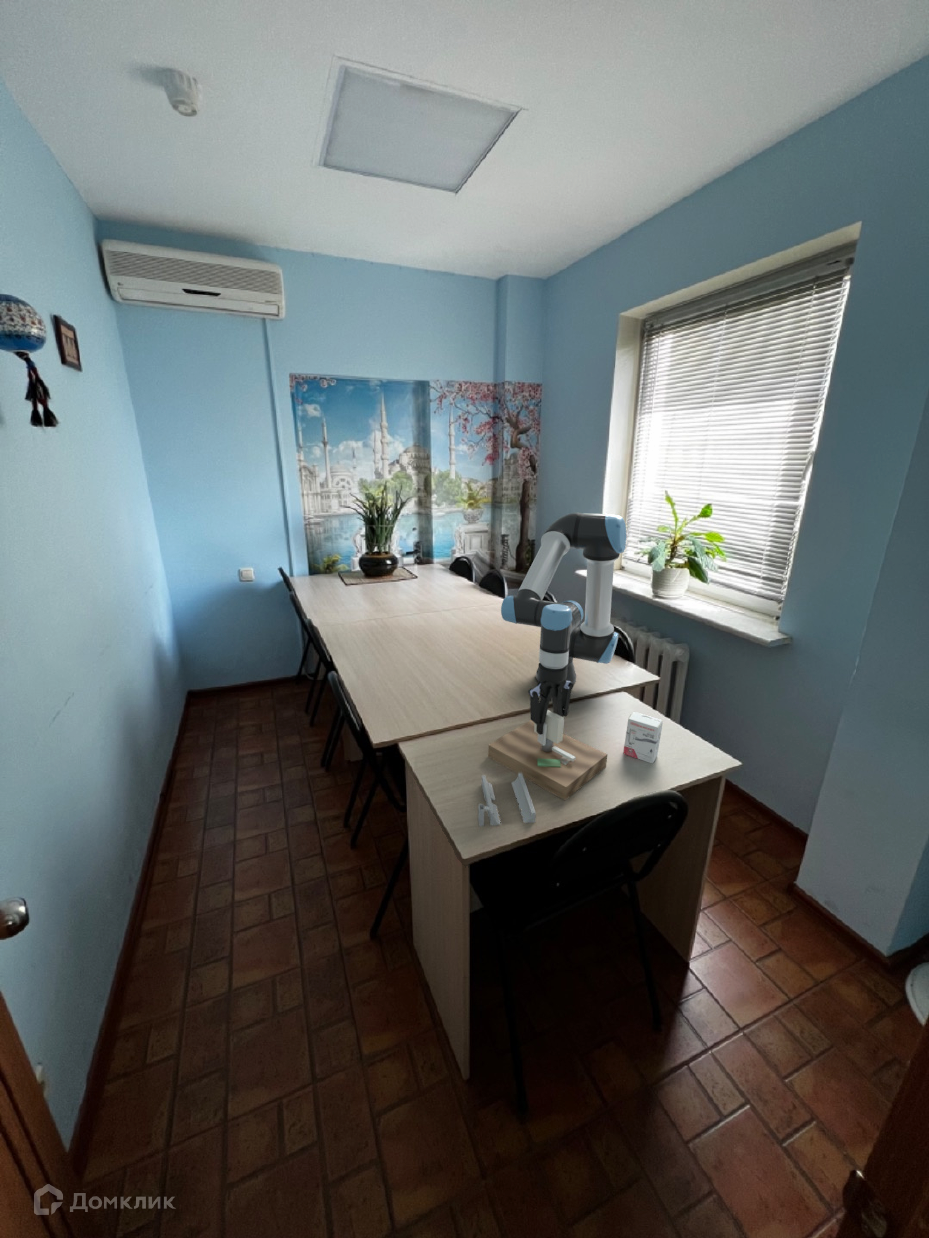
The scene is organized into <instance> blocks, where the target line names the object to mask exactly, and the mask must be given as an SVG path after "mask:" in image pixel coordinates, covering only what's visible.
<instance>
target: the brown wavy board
mask: <svg viewBox="0 0 929 1238" xmlns="http://www.w3.org/2000/svg"><path fill="white" fill-rule="evenodd" d="M534 725H535V723H534V722H533V721H532V720H531V719H530V720H528V721H526V722H525V723H523V724H521V725H520V726H518V727H516V728H514V729H513V730H511V731H509V732H508V733H506V734H504V735H503V736H501V737H499V738H497V739H496V740H494V741H493V742H491V743H489V744H488V748H487V749H488V750H487V757H488V758H489V759H491V760H493V761H494V762H497V763H498V764H499V765H501V766H504V767H505V768H507V769H508V770H510V771H512V772H514V773H515V774H517V775H518V773H522V774H523V777H524V779H527V780H528V781H530V783H531V782H532V783H533V784H535V785H537V786H539V787H540V788H542V789H544V790H546V791H547V792H549V793H551V794H552V795H554V796H556V797H557V798H559V799H561V798H562V799H561V800H563V799H564V800H563V801H566V800H568V799H569V798H570V797H572V796H573V795H574V794H575V793H577V791H578V790H580V789H581V788H582V787H584V785H586V784H587V783H589V781H591V780H592V779H593V778H594V777H595V776H596V775H598V774H599V773H600V772H602V771H603V770H604V769H605V768H606V767H607V762H608V761H607V760H608V753H607V752H604V751H601V750H600V749H597V748H595V747H594V746H591V745H589V744H586V743H585V742H582V741H580V740H578V739H576V738H573V737H571V736H570V735H567V734H564V733H563V740H562V741H561V742H559V743H557V744H556V743H555V742H553V746H556V747H558V748H560V749H562V750H563V751H565V752H567V753H569V754H571V755H573V756H575V757H576V758H575V760H574V761H571V760H569V759H567V758H565V757H564V756H562V755H560V754H558V753H556V752H555V751H553V750H552V751H550V752H546V751H543V750H542V749H541V746H542V744H541V743H540V742H538V733H536V732H534ZM573 793H574V794H573ZM568 797H569V798H568Z"/></svg>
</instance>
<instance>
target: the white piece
mask: <svg viewBox="0 0 929 1238" xmlns="http://www.w3.org/2000/svg"><path fill="white" fill-rule="evenodd" d="M545 723H546V724H547V733H546V745H545V746H543V745H542V746H541V749H542V750H543V751H546V752H550V751H552V750H553V751H555V752H556V753H558V754H560V755H562V756H564V757H565V758H567V759H569V760H571V761H574V760H575V758H576V757H575V756H573V755H571V754H569V753H567V752H565V751H563V750H562V749H560V748H558V747H556V746H553V742H555V743H556V744H557V743H559V742H561V741H562V740H563V734H564V726H565V725H564V724H565V716H563V717H562V716H560V715H558V714H555V713H553V711H551V710H549V709H548V710H547V715H546V719H545ZM536 729H537V724H535V725H534V732H536V733H537V731H536Z"/></svg>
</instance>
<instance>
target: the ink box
mask: <svg viewBox="0 0 929 1238" xmlns="http://www.w3.org/2000/svg"><path fill="white" fill-rule="evenodd" d="M663 722H664V721H663V720H662V719H661V718H657V717H653V716H650V715H647V714H644V713H641V712H637V711H633V712H631V714H630V715H629V717H628V719H627V725H626V732H625V741H624V746H623V755H626V756H629V757H632V758H635V759H638V760H641V761H643V762H647V763H649V764H654V762H655V761H656V759H657V757H658V753H659V750H660V749H659V748H660V741H661V735H662V729H663Z"/></svg>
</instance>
